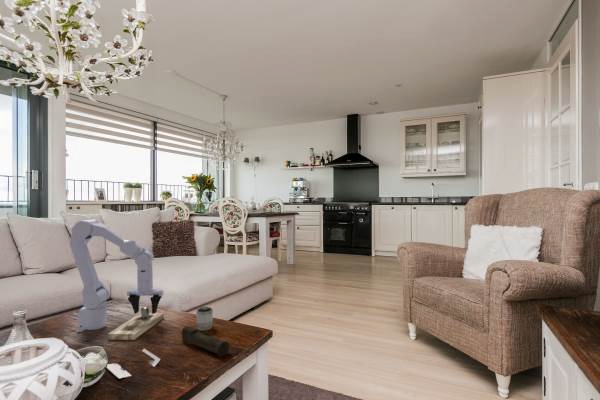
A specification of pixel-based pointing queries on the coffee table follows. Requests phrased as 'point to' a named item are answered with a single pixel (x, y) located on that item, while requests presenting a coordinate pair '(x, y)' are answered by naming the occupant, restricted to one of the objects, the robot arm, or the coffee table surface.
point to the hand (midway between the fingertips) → (145, 312)
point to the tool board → (135, 327)
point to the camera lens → (204, 318)
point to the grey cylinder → (145, 313)
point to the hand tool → (204, 341)
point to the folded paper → (120, 371)
